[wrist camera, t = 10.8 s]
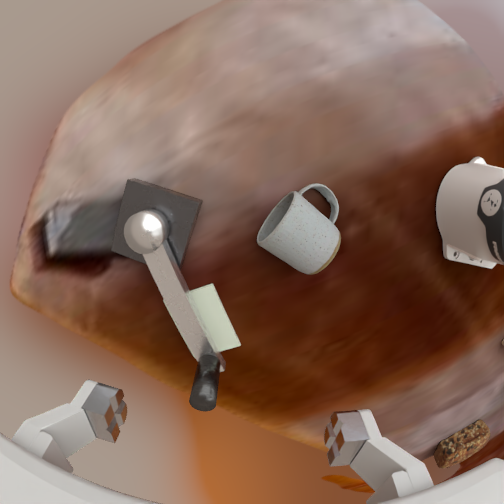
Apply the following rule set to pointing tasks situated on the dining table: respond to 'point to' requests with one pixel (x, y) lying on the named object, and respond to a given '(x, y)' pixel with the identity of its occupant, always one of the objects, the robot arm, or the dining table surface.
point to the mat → (213, 317)
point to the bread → (462, 444)
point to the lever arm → (177, 302)
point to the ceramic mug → (302, 231)
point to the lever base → (169, 204)
